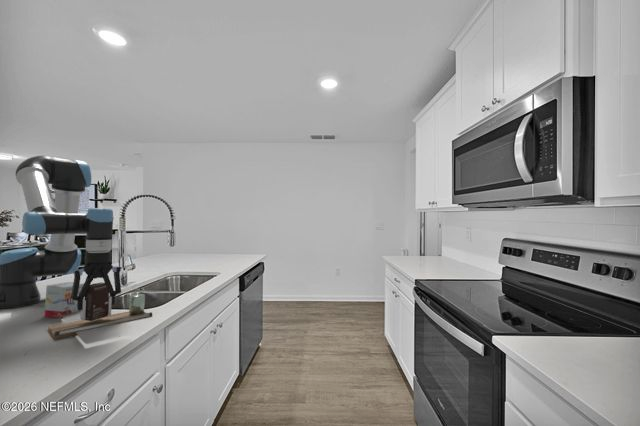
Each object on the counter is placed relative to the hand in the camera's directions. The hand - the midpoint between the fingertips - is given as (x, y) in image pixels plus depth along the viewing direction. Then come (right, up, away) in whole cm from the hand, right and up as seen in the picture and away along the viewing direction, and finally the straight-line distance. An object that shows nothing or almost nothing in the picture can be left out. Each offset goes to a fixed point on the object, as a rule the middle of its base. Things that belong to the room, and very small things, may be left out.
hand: (96, 316), depth 108 cm
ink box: (-20, -3, +11) cm, 23 cm away
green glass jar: (+9, -2, +10) cm, 13 cm away
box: (0, -1, 0) cm, 1 cm away
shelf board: (+2, -3, +1) cm, 4 cm away
